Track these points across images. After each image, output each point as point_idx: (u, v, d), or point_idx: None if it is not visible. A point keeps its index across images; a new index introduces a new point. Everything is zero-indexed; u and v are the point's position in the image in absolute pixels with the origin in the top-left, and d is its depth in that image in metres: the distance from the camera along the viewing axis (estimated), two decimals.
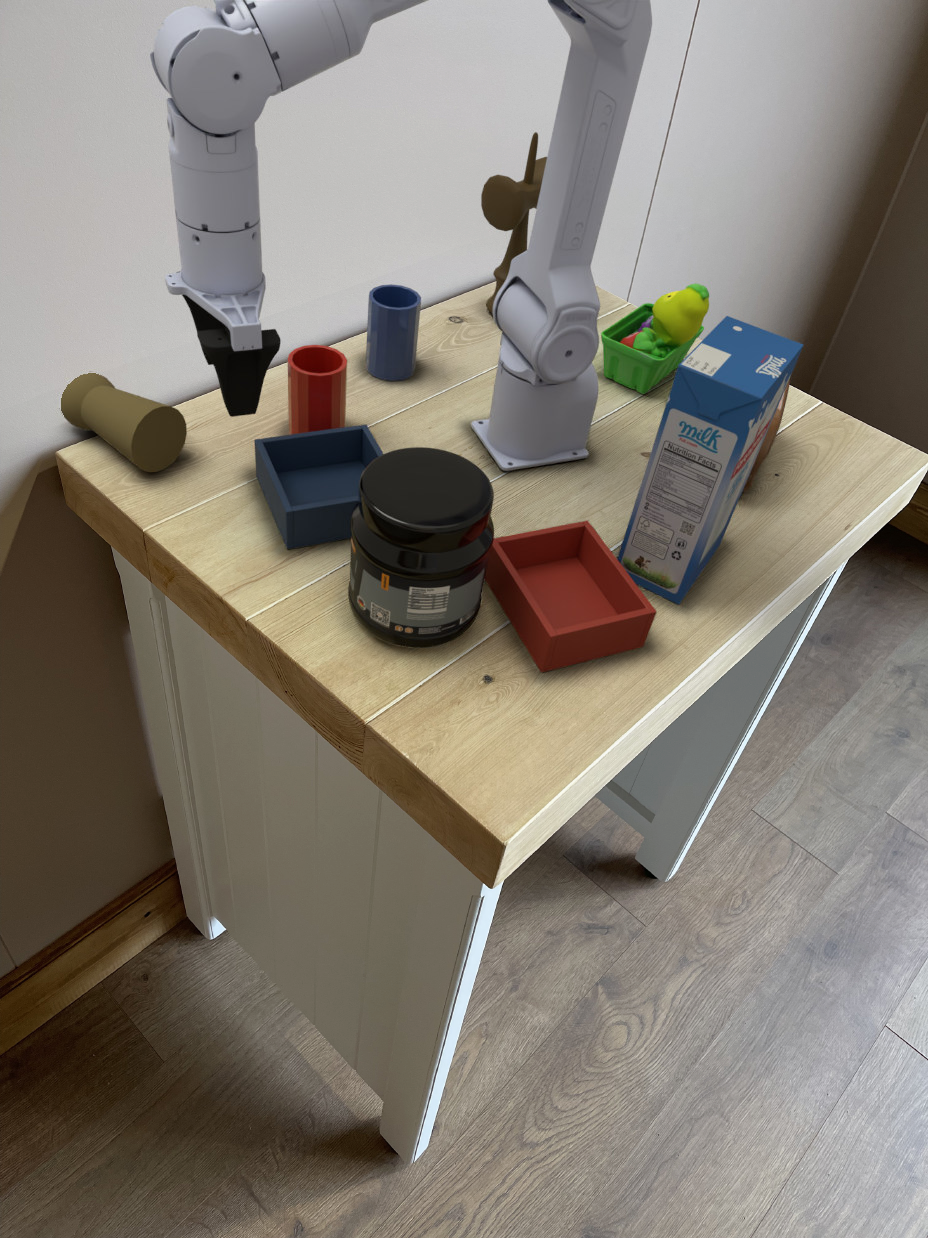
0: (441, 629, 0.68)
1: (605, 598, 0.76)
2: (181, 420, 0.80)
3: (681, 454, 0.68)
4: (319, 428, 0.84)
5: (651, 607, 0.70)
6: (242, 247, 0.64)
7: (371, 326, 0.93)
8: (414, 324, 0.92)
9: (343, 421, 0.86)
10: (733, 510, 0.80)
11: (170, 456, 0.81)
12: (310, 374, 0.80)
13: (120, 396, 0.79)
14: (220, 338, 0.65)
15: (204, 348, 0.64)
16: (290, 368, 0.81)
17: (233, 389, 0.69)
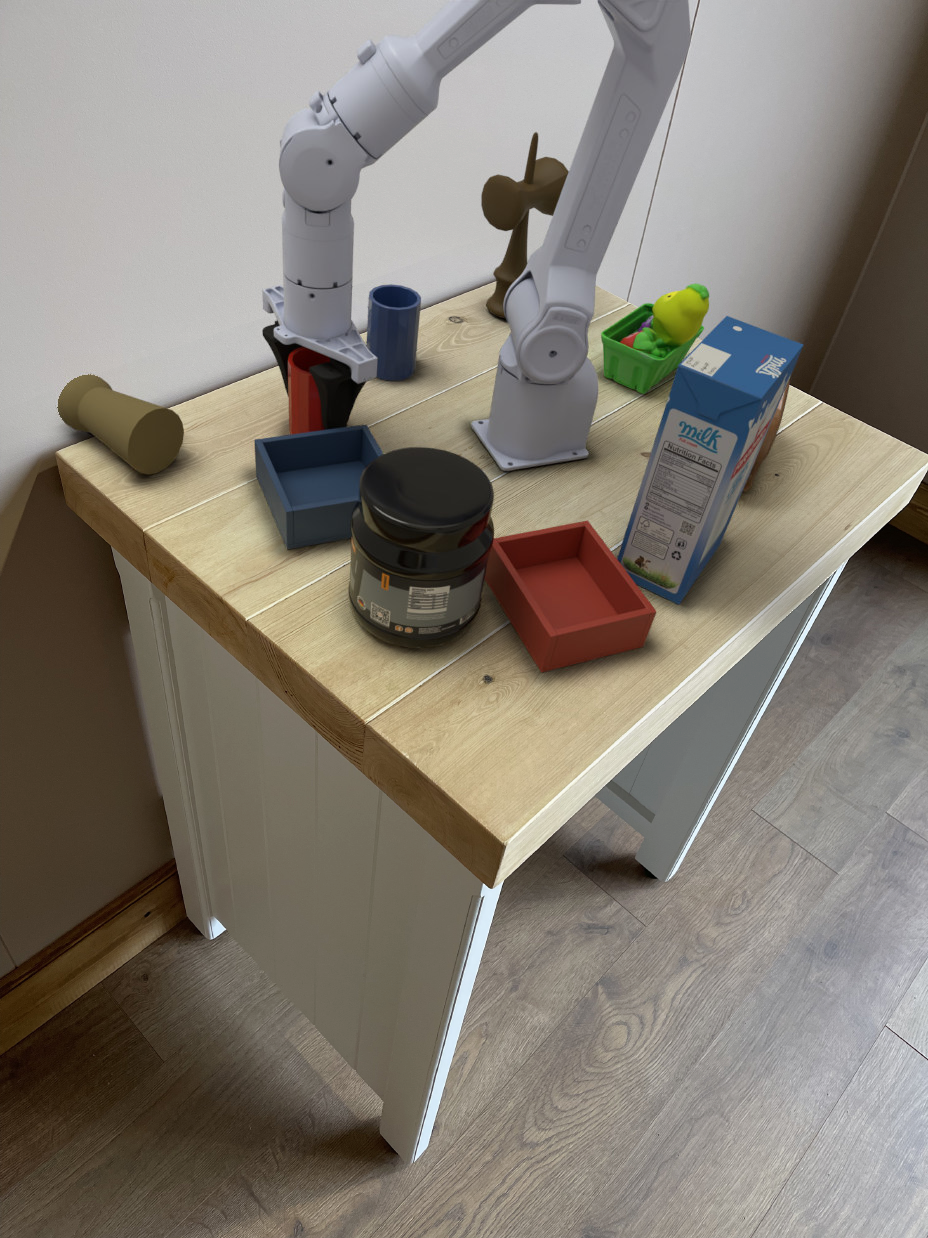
0: (441, 629, 0.68)
1: (605, 598, 0.76)
2: (177, 420, 0.80)
3: (681, 454, 0.68)
4: (320, 428, 0.84)
5: (651, 607, 0.70)
6: (346, 297, 0.76)
7: (371, 326, 0.93)
8: (414, 324, 0.92)
9: None
10: (733, 510, 0.80)
11: (169, 456, 0.81)
12: (310, 374, 0.80)
13: (114, 399, 0.79)
14: (331, 370, 0.78)
15: (323, 380, 0.77)
16: (290, 368, 0.81)
17: (333, 410, 0.82)
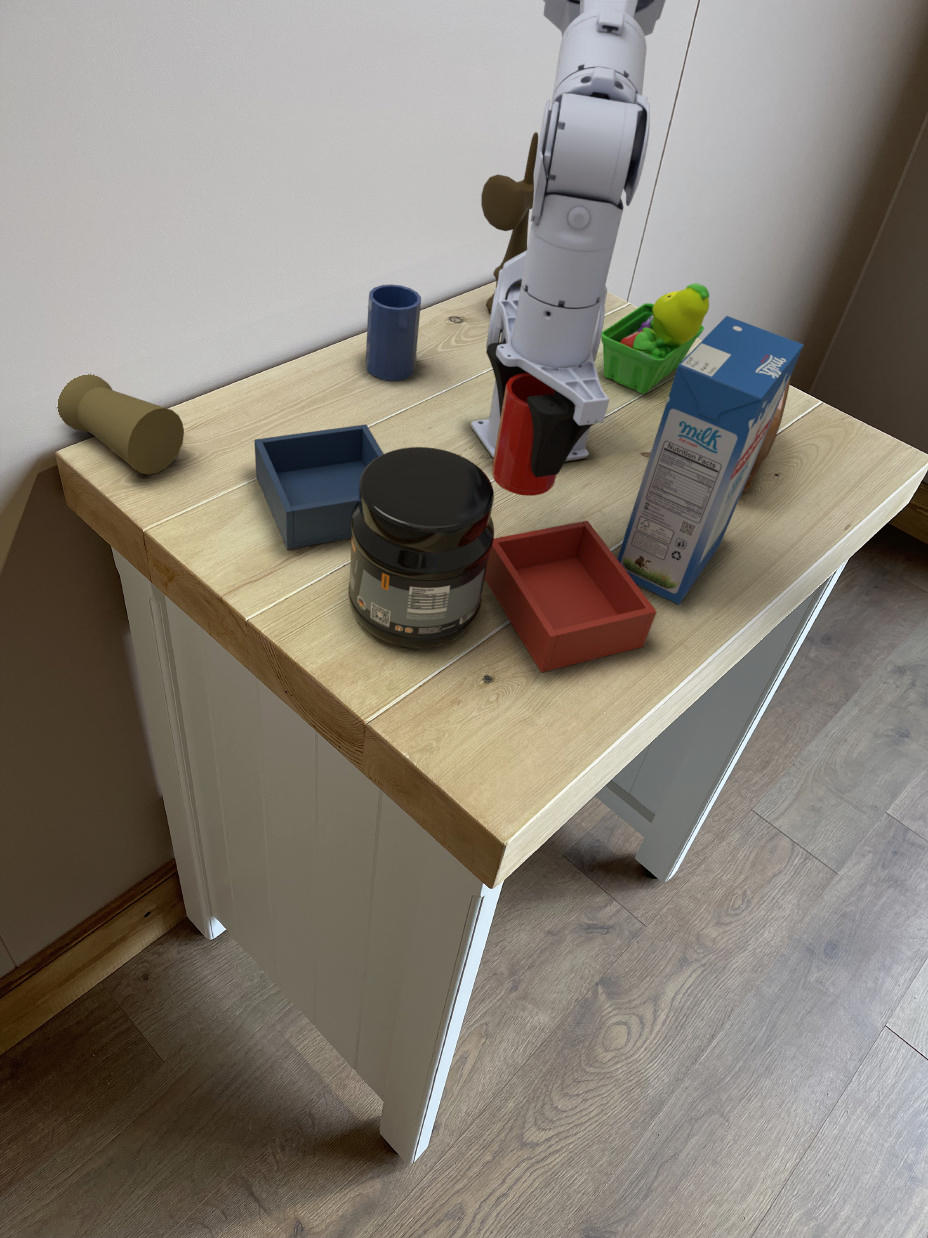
0: (441, 629, 0.68)
1: (605, 598, 0.76)
2: (177, 420, 0.80)
3: (681, 454, 0.68)
4: (526, 469, 0.71)
5: (651, 607, 0.70)
6: (588, 321, 0.63)
7: (371, 326, 0.93)
8: (414, 324, 0.92)
9: None
10: (733, 510, 0.80)
11: (169, 456, 0.81)
12: (527, 405, 0.68)
13: (114, 399, 0.79)
14: (552, 404, 0.65)
15: (539, 415, 0.65)
16: (506, 395, 0.69)
17: (546, 451, 0.69)
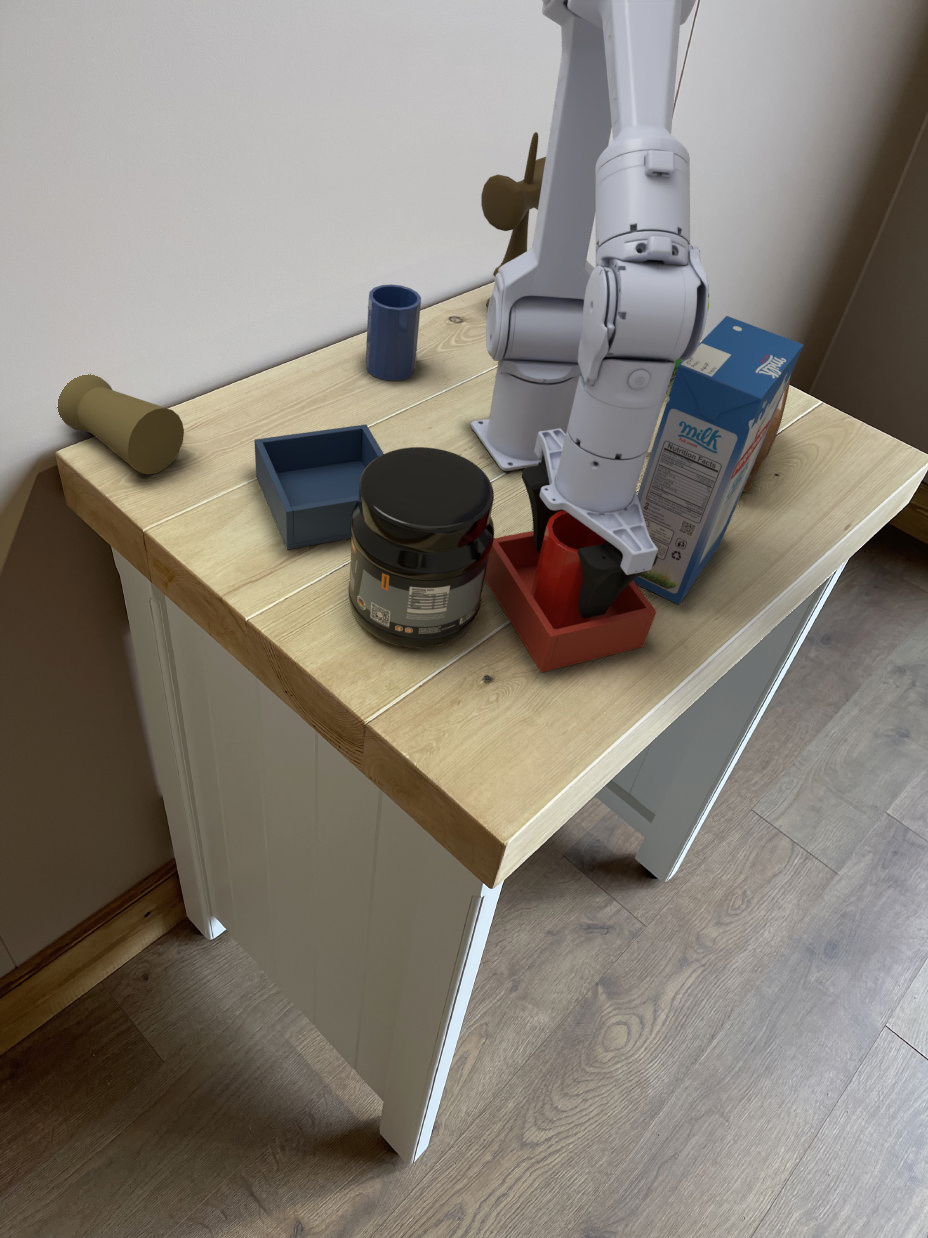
0: (441, 629, 0.68)
1: None
2: (177, 420, 0.80)
3: (681, 454, 0.68)
4: (566, 606, 0.71)
5: (651, 607, 0.70)
6: (636, 469, 0.62)
7: (371, 326, 0.93)
8: (414, 324, 0.92)
9: None
10: (733, 510, 0.80)
11: (169, 456, 0.81)
12: (569, 550, 0.67)
13: (114, 399, 0.79)
14: (604, 557, 0.64)
15: (591, 569, 0.63)
16: (547, 536, 0.68)
17: (595, 596, 0.68)
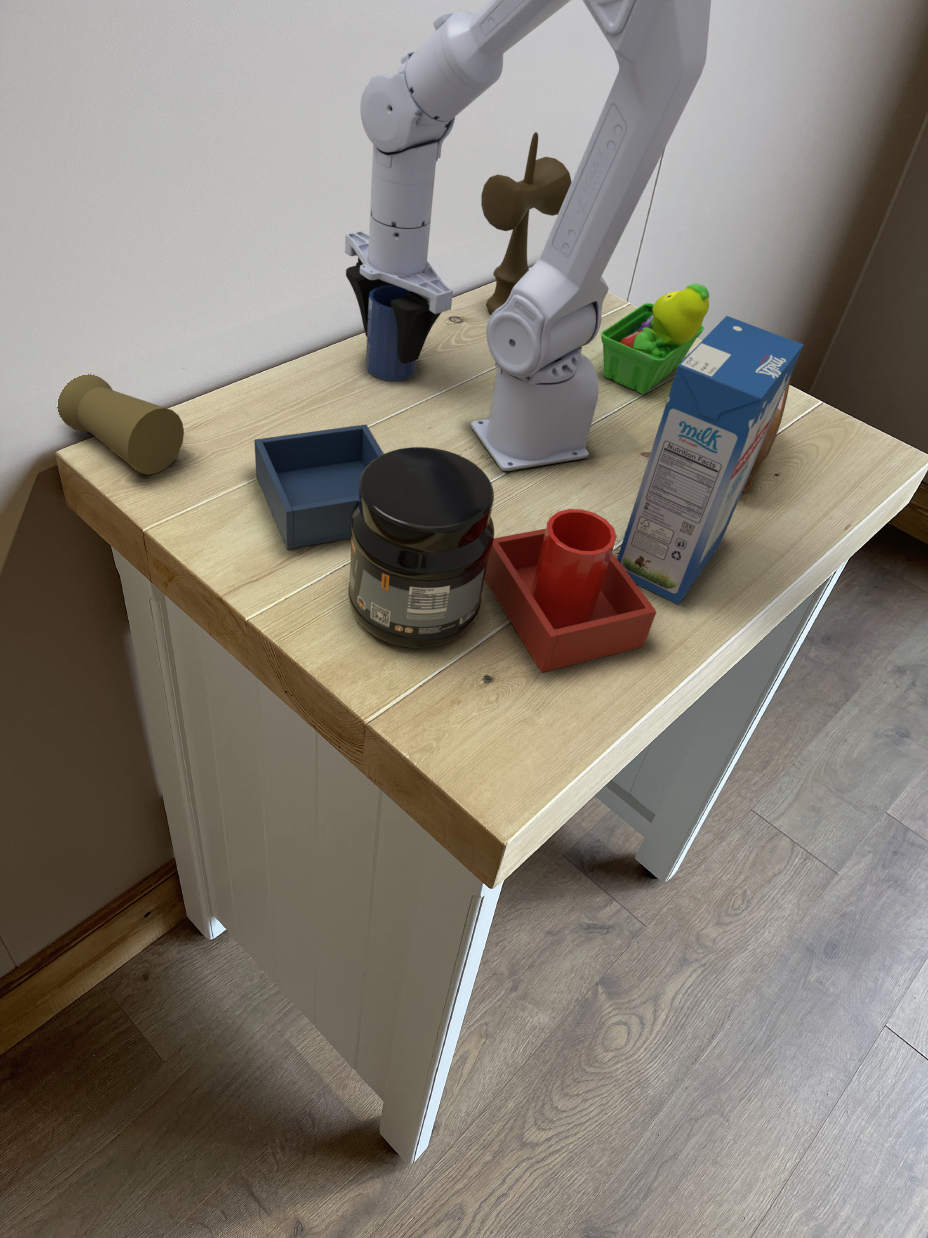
0: (441, 629, 0.68)
1: (605, 598, 0.76)
2: (177, 420, 0.80)
3: (681, 454, 0.68)
4: (566, 606, 0.71)
5: (651, 607, 0.70)
6: (425, 237, 0.86)
7: (371, 326, 0.93)
8: None
9: (595, 601, 0.72)
10: (733, 510, 0.80)
11: (169, 456, 0.81)
12: (569, 550, 0.67)
13: (114, 399, 0.79)
14: (410, 303, 0.88)
15: (404, 311, 0.87)
16: (547, 536, 0.68)
17: (409, 342, 0.92)
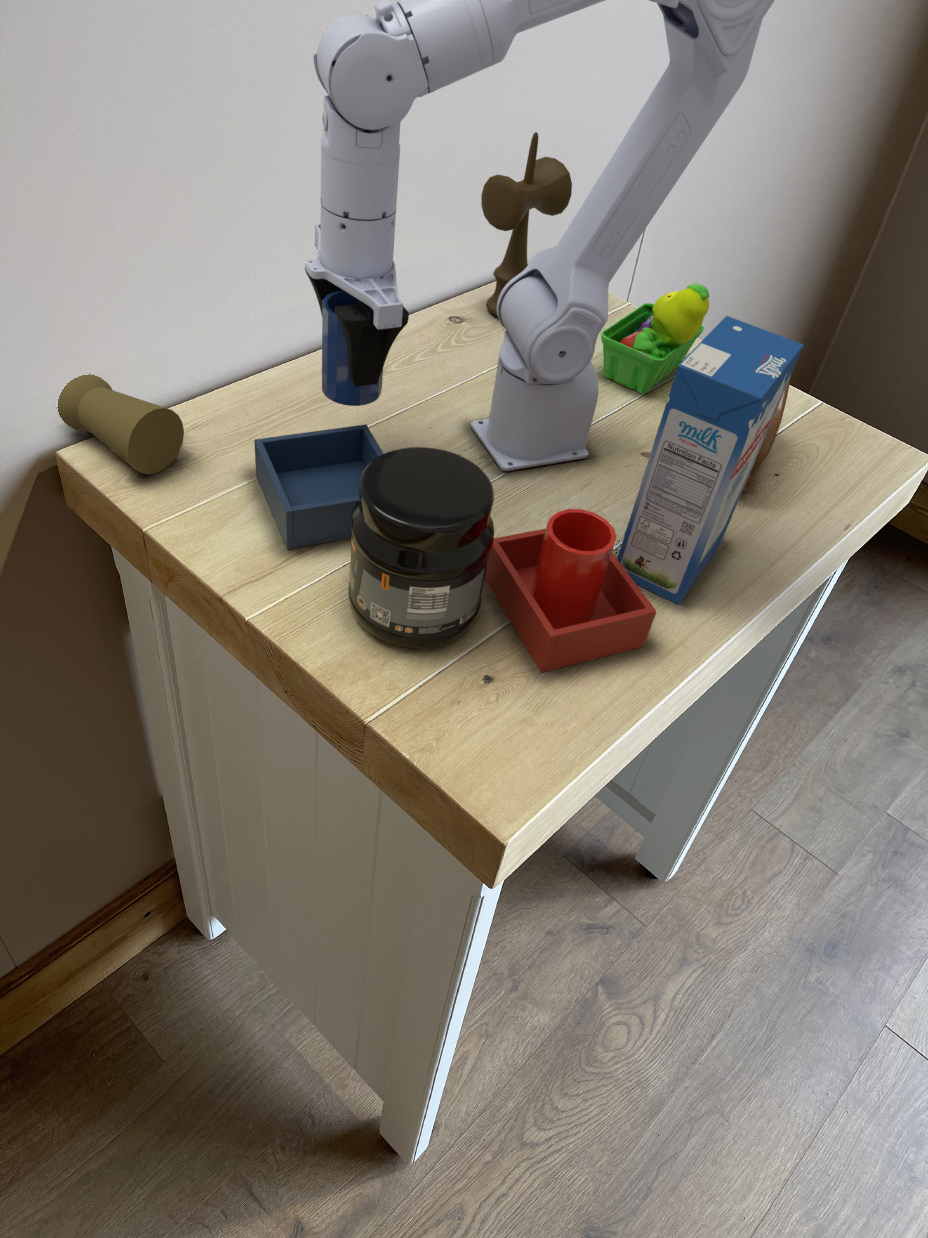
0: (441, 629, 0.68)
1: (605, 598, 0.76)
2: (177, 420, 0.80)
3: (681, 454, 0.68)
4: (566, 606, 0.71)
5: (651, 607, 0.70)
6: (383, 233, 0.69)
7: (323, 336, 0.77)
8: None
9: (595, 601, 0.72)
10: (733, 510, 0.80)
11: (169, 456, 0.81)
12: (569, 550, 0.67)
13: (114, 399, 0.79)
14: (357, 313, 0.71)
15: (344, 322, 0.71)
16: (547, 536, 0.68)
17: (361, 360, 0.75)
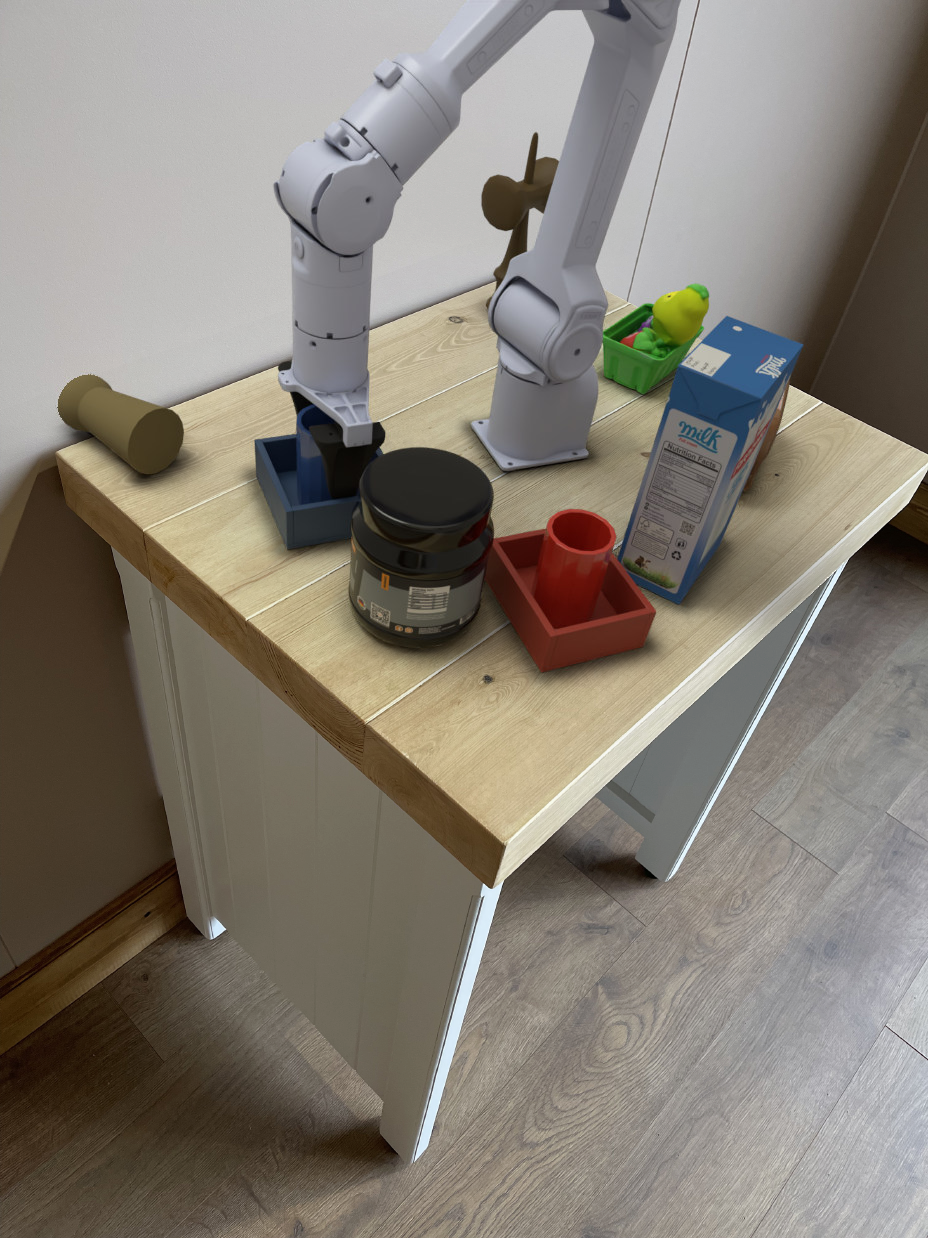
0: (441, 629, 0.68)
1: (605, 598, 0.76)
2: (177, 420, 0.80)
3: (681, 454, 0.68)
4: (566, 606, 0.71)
5: (651, 607, 0.70)
6: (354, 350, 0.68)
7: (297, 450, 0.76)
8: None
9: (595, 601, 0.72)
10: (733, 510, 0.80)
11: (169, 456, 0.81)
12: (569, 550, 0.67)
13: (114, 399, 0.79)
14: (331, 433, 0.70)
15: (317, 443, 0.69)
16: (547, 536, 0.68)
17: (337, 476, 0.74)
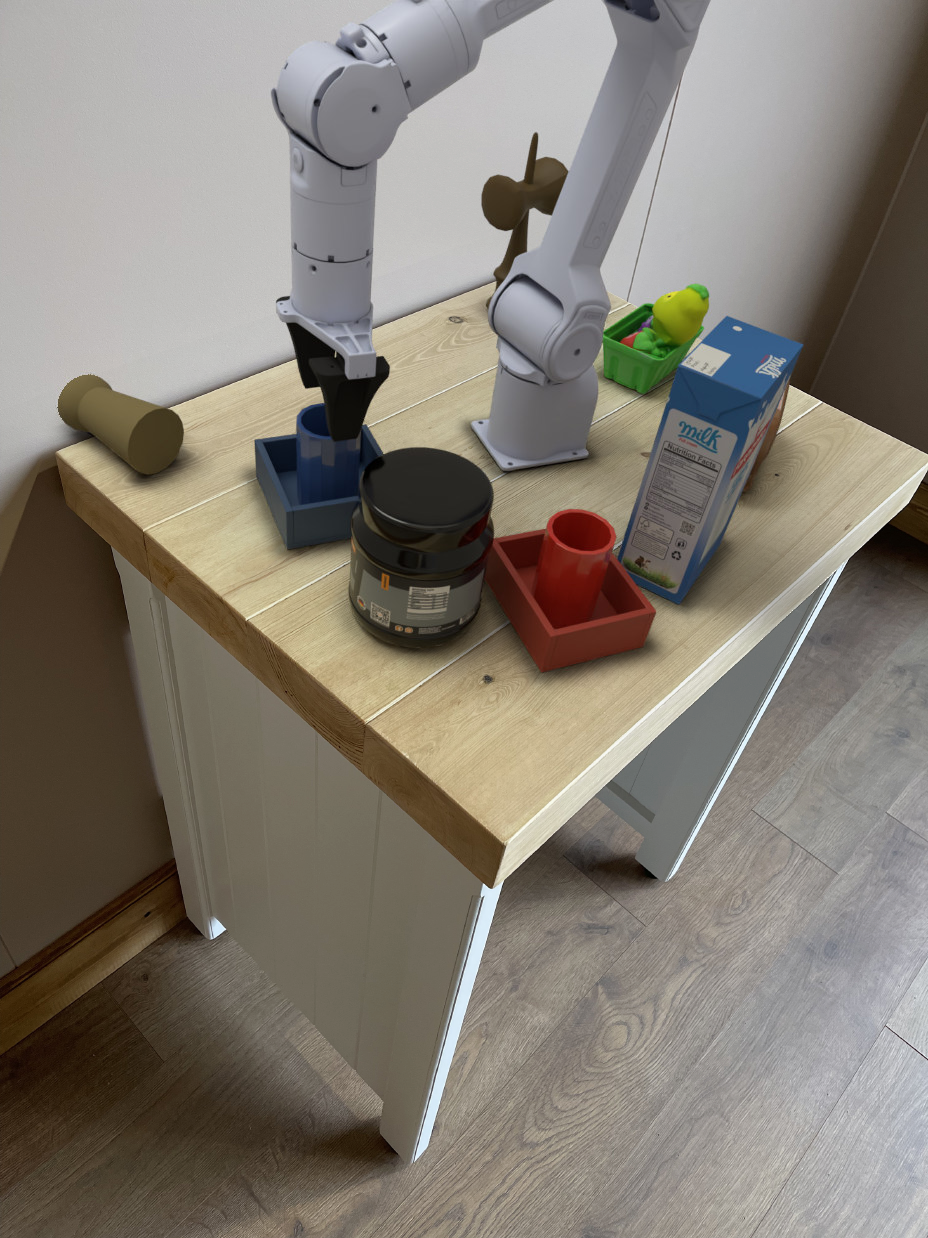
0: (441, 629, 0.68)
1: (605, 598, 0.76)
2: (177, 420, 0.80)
3: (681, 454, 0.68)
4: (566, 606, 0.71)
5: (651, 607, 0.70)
6: (357, 276, 0.64)
7: (297, 450, 0.76)
8: (345, 457, 0.75)
9: (595, 601, 0.72)
10: (733, 510, 0.80)
11: (169, 456, 0.81)
12: (569, 550, 0.67)
13: (114, 399, 0.79)
14: (333, 366, 0.66)
15: (317, 376, 0.65)
16: (547, 536, 0.68)
17: (339, 415, 0.70)
